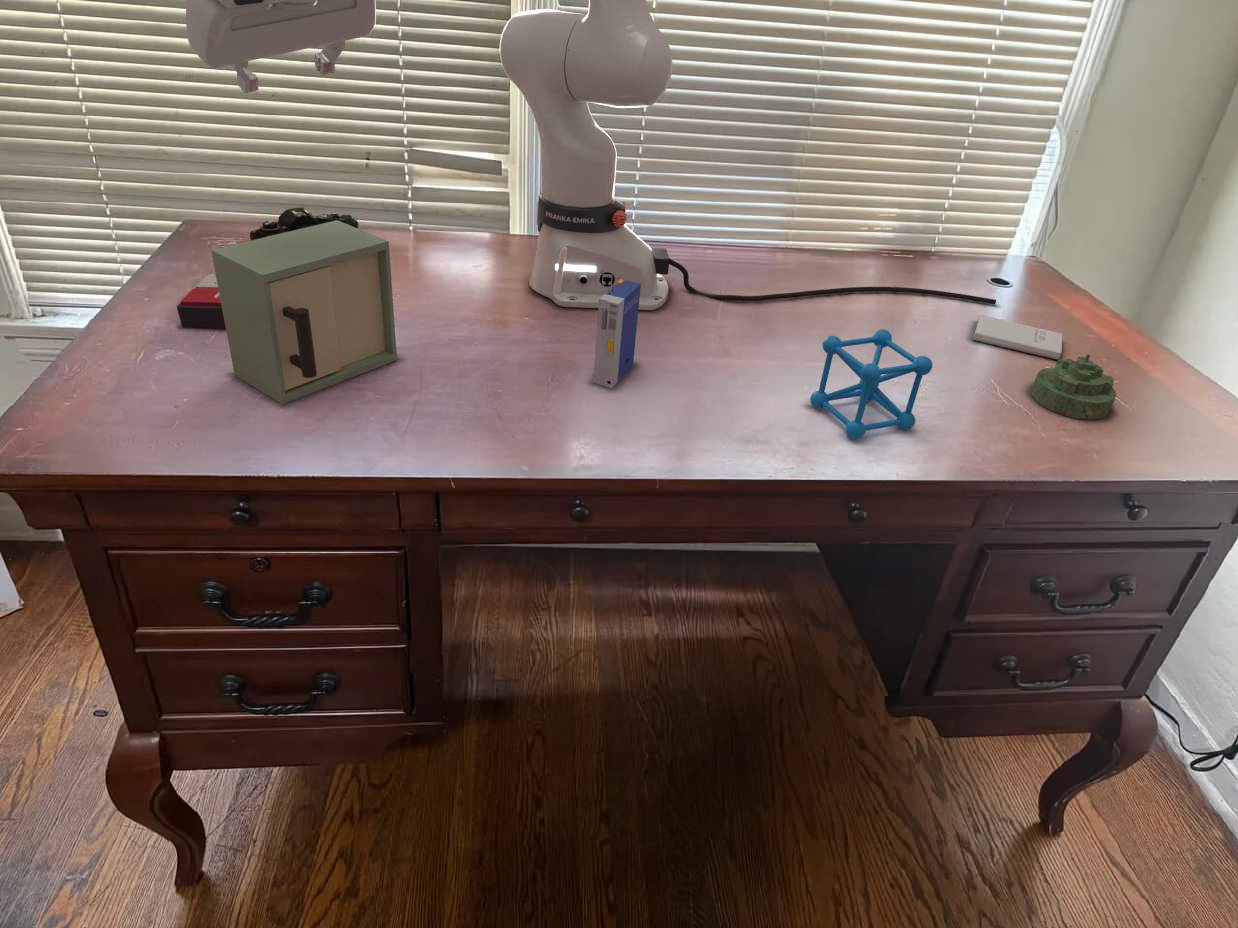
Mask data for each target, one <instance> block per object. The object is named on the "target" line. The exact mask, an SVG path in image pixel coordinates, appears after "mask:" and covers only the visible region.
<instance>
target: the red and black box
mask: <svg viewBox="0 0 1238 928" xmlns="http://www.w3.org/2000/svg"><path fill="white" fill-rule="evenodd" d="M176 310H177V313H178V317H179V321H180V324H181V327H183V328H220V329H221V328H223V329H224V328H225V329H226V327H225V321H224V316H223V311H222V305H221V300H220V295H219V290H218V284H217V279H216V274H214V273H213V274H212V273H210V274H207V275H206V276H205V277H204V278H203V279H202V280H201V281H199V282H198V283H197V285H196V286H195V287H194V288H192V289H191V290H190V291H189V292H188V293H187V294H186V295H185V296H184V297H182V299H181V300H180V303H178V304H177V306H176Z"/></svg>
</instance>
